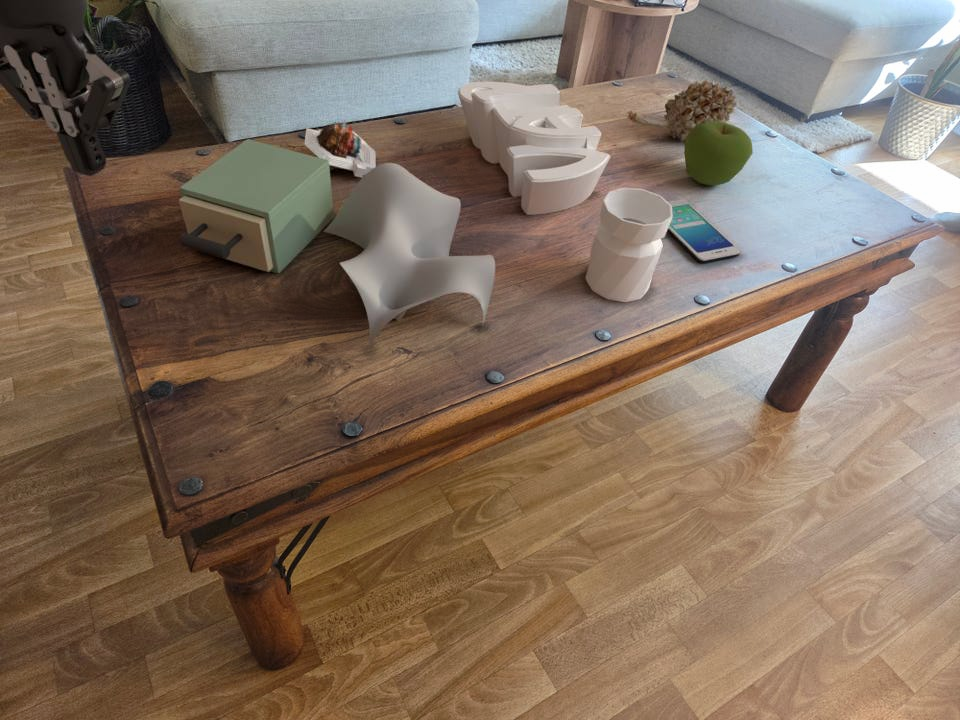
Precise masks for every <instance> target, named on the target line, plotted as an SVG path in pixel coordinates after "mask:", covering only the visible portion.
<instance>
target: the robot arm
mask: <svg viewBox="0 0 960 720" xmlns="http://www.w3.org/2000/svg"><path fill="white" fill-rule="evenodd" d="M87 9H88V0H0V85H1V87H3V89H4V90H5V91H6V92H7V93H8V94H9V95H10V96H11V97H12V98H13V100H14V101H15V102H16V103H17V104H18V105H19V106H20V107H21V109H22V110H23V111H24V112H26V114H27V116H29V117H30V118H31V119H33V120H39V119H42V120H43V121H45V122H46V124H47V126H48V127H49V129H50V130H51V131H53V132H55V133H56V135H57V138H58V140H59V143H60V145H61V148H62V150H63V153H64V155H65V158H66V160H67V161H68V162H69V165H70V167H71V170H72V171H73V172H74V173H78V174H80V175H81V174H82V175H85V176H88V177H92V176H94V175H96V174H97V173H98V172H100V171H102V170H103V169H105V167H106V164H107V158H106V154H105V152H104V149H103V146H102V143H101V140H100V137H99V134H98V131H99V130H100V129H102V128H104V127H107V126H108V125H110V124H112V123H114V122H115V120H116V117H117V116H118V112H119V111H120V108H121V106H122V103H123V101H124V99H125V97H126V94H127V92H128V91H129V87H130V86H131V82H132V79H131V76H130V74H129V73H128V72H127V70H125V69H123V68H117V69H116V70H113V69H112V68H110V66H109V65H108V64H106V62H104V61H103V60H102V58H100V57H99V56H98V53H99V52H98V48H97V44H96V42H95V40H94V39H93V38H92V36H91V35H90V33H89V32H88V30H87V28H86V26H85V15H86V12H87Z"/></svg>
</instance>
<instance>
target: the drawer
mask: <svg viewBox="0 0 960 720" xmlns="http://www.w3.org/2000/svg"><path fill="white" fill-rule="evenodd" d="M178 202H179V206H180V210H181V213H182V217H183V221H184V224H185V228H186V232H187V233H186V232H183V233H181V235H180V236H179V238H178V243H179V245H180V246H181V247H183V248H187V249H190V250H194V251H197V252H201V253H204V254H208V255H210V256H214V257H217V258H220V259H223V260H228V261H231V262H234V263H237V264H241V265H243V266H247V267H251V268H254V269H257V270H260V271H263V272H267V273H270V272H271V271H270V270H271V269H272V268H273V262H272V256H271V250H270V244H269V239H268V233H267V227H266V222H265V219H264V217H262V218H261V217H257V216H254V215H250V214H247V213H243V212H240V211H236V210H233V209H229V208H226V207H225V206H223V205H220V204H216V203H213V202H209V201H206V200H202V199H199V198H198V199H195V198H191V197H188V196H184V197H180V198H179V199H178Z"/></svg>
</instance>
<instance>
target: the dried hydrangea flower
mask: <svg viewBox="0 0 960 720" xmlns="http://www.w3.org/2000/svg"><path fill="white" fill-rule="evenodd" d="M727 88H728V85H726V86H724V85H721V86H720V85H719V82H716V83H715V84H713V81H712V82H709V81H708V80H704V81H702V82H701V83H700V82H699V81H698V80H696V81H694V82H693V84H692V83H691V82H690V83H689V85H688V86H687V88H686V90H681V92H679V93H678V94H676V93H675V94H674V99H673V98H671V99H667V102H666V103H665V104H664V108H665V113H666V114H664V115H663V118H664V119H655V118H649V117H646V116H643V115H640V114H638V113H637V112H634V111H633V110H629V111H625V113H626V114H628V115H627V116H626V118H627V119H628V120H630V121H631V122H633V123H637V124H640V125H643V126H649V127H654V128H665V129H669V135H670V136H671V137H672V138H673V139H677V138H678V139H679V140H680V141H681V142H683V141H685V138H686V137H687V135H688V134H689V132H690V131H691V130H692V129H693V128H694V127H695V126H697V125H700V124H703V123H706V122H710V121H719V122H725V123H727V122H728V121H729V120H730V117H731V114H733V113H735V108H736V106H737V102H735V99H736V96H734V95H733V93H734V92H733V89H730V90H727Z"/></svg>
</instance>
